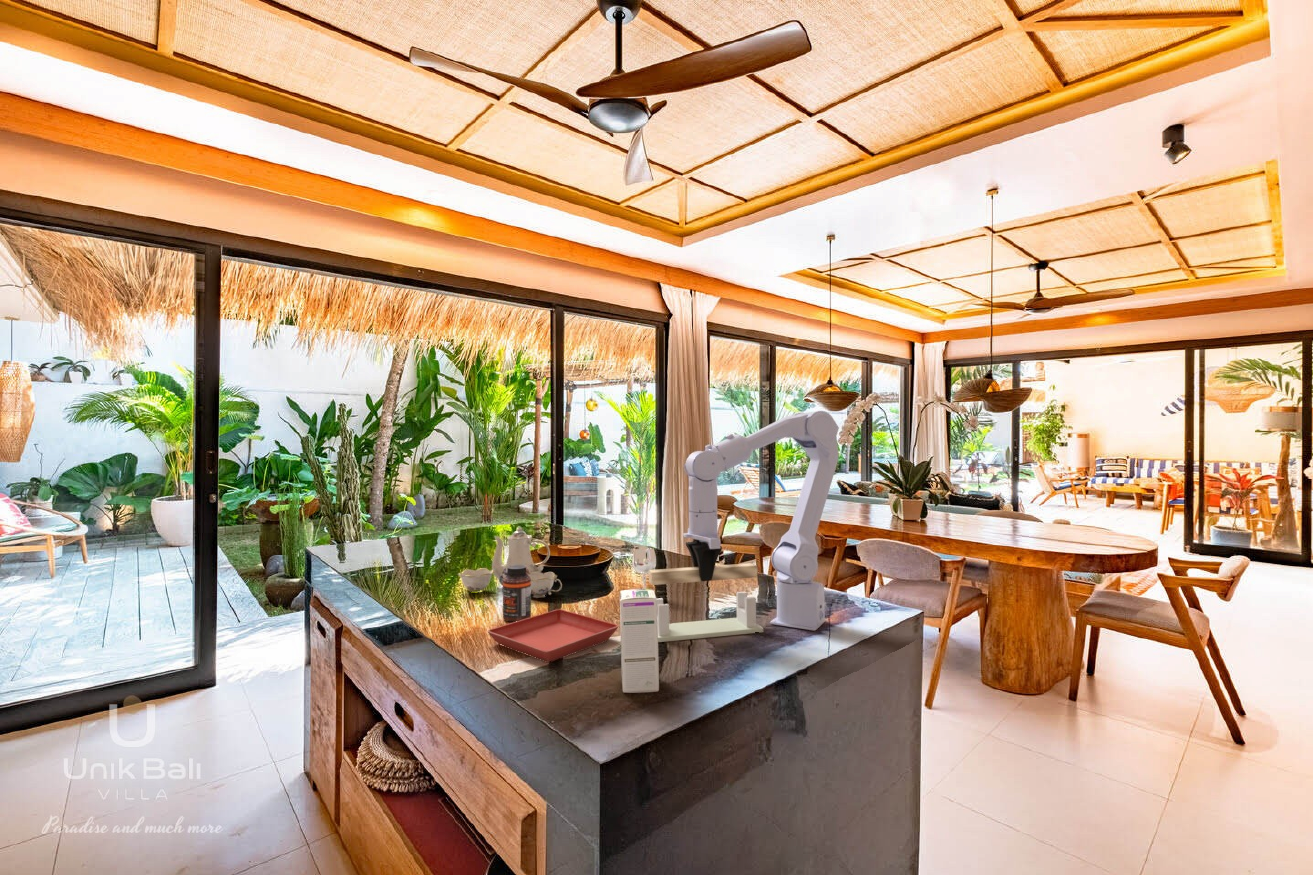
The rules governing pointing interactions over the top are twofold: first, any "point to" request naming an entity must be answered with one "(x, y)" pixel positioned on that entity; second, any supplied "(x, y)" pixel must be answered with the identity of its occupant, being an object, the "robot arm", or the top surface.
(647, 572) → the wineglass
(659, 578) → the rail
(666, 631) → the rail stand
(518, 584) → the supplement bottle
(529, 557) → the chinaware
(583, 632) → the plant saucer
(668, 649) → the top surface
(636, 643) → the syrup box
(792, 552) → the robot arm
